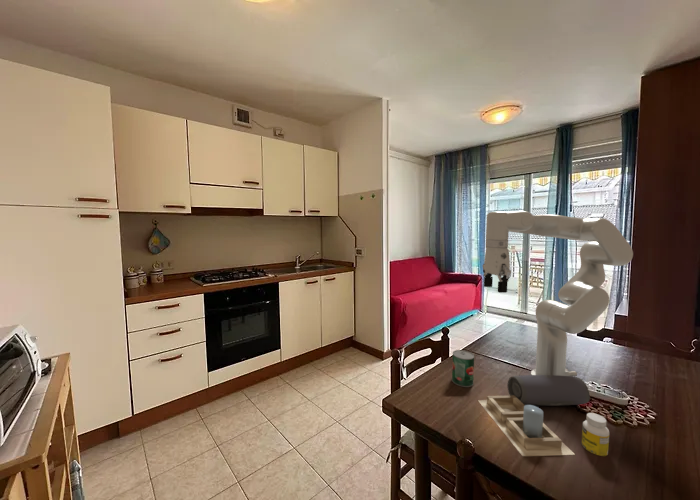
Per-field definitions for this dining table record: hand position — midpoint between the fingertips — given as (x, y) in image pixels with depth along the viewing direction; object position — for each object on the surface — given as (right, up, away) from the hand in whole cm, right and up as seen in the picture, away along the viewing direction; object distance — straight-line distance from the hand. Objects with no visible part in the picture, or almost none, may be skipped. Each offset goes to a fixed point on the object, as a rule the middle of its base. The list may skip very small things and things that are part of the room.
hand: (494, 289), depth 108 cm
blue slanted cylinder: (-4, -38, -28) cm, 47 cm away
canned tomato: (-11, -37, +3) cm, 38 cm away
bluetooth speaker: (+11, -38, -12) cm, 41 cm away
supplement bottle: (+10, -39, -32) cm, 52 cm away
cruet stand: (-4, -38, -23) cm, 45 cm away
